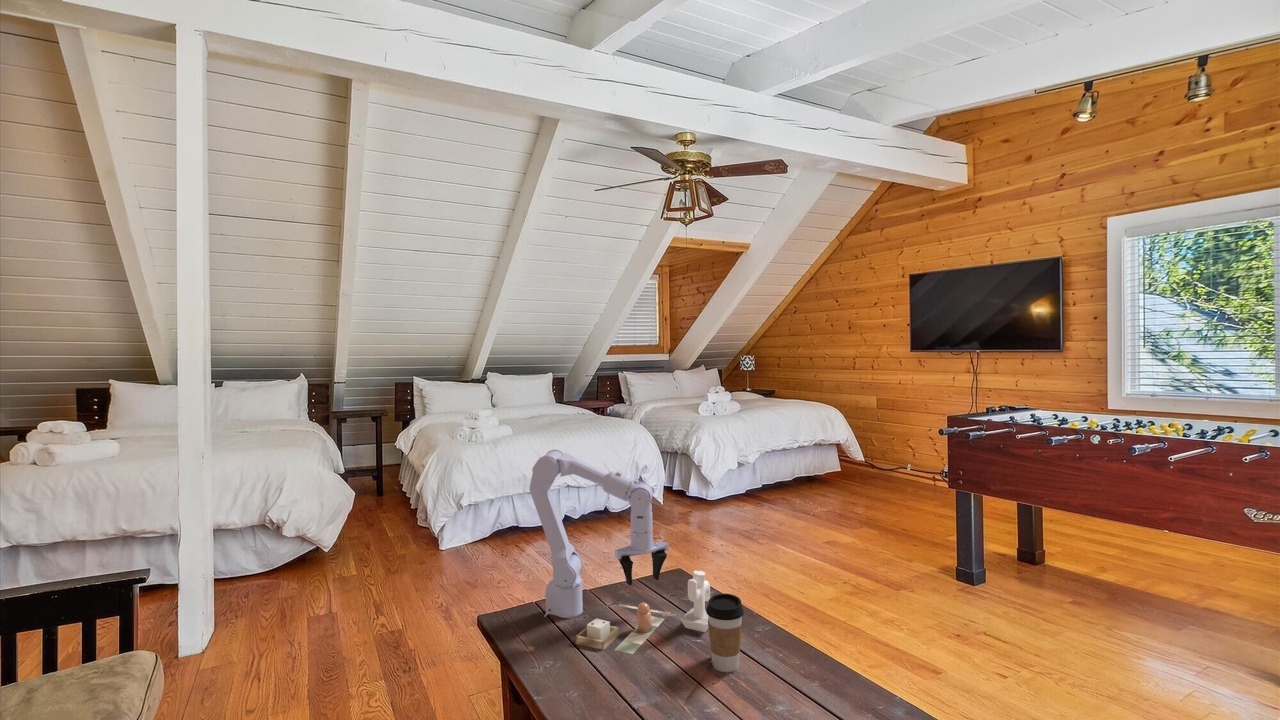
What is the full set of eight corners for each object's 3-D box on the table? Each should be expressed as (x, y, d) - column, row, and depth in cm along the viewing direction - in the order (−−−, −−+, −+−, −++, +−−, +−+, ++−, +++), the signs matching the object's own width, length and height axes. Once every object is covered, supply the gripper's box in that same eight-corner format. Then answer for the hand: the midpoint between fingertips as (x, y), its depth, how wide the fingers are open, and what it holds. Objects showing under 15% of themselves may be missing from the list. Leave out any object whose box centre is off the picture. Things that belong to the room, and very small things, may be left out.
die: (587, 640, 159) (586, 624, 158) (596, 634, 162) (596, 618, 162) (600, 644, 156) (600, 628, 156) (610, 637, 160) (609, 621, 160)
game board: (572, 651, 156) (571, 638, 156) (620, 607, 179) (619, 596, 179) (629, 663, 150) (628, 650, 149) (671, 616, 173) (670, 605, 173)
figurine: (720, 625, 167) (719, 568, 167) (704, 641, 159) (704, 581, 158) (694, 619, 171) (693, 563, 170) (678, 634, 163) (677, 575, 162)
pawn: (636, 632, 162) (634, 606, 162) (639, 625, 166) (637, 599, 165) (650, 633, 161) (648, 606, 161) (653, 626, 165) (651, 600, 164)
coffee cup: (747, 659, 151) (746, 595, 150) (740, 678, 143) (739, 610, 142) (711, 653, 153) (710, 591, 152) (702, 672, 145) (702, 605, 145)
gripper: (660, 522, 178) (661, 571, 179) (610, 529, 172) (611, 580, 173) (671, 529, 172) (672, 580, 172) (620, 537, 166) (621, 590, 167)
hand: (642, 581), depth 172 cm, fingers open, 7 cm apart
